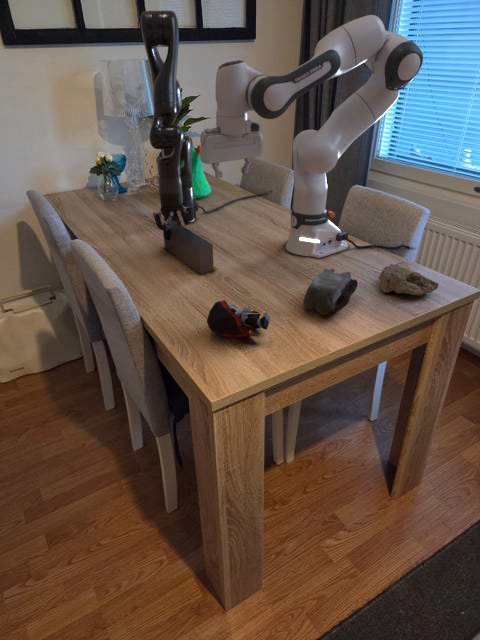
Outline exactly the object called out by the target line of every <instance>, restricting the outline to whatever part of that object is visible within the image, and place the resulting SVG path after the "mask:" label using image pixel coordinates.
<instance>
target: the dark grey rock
mask: <svg viewBox="0 0 480 640" xmlns="http://www.w3.org/2000/svg"><path fill="white" fill-rule="evenodd" d="M358 284H359V283H358V280H357V279H352V274H351V272H350V271H344V272H341V273H337V272H335V268H324V269H323V270H322V271H321V272H320V273H319V274H318V275H316V277H315V278H314V279H313V280H312V281H311V283H310V284H309V286H308V288H307V289H306V291H305V294H304V298H303V301H302V305H303V306H304V307H305V308H306V309H308V310H311V309H315V310H316V311H317V312H318V313H319V314H321V315H323V316H326V315H328V316H330V317H333V316H334V315H335V314H336V313H338V312H340V311H341V310H343V309H344V308H345V307H346V306H347V305H348V304H349V302H350V300H351V296H352V295H353V294H354V293H355V292H356V290H357V288H358V286H359V285H358Z"/></svg>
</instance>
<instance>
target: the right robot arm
mask: <svg viewBox="0 0 480 640" xmlns="http://www.w3.org/2000/svg"><path fill="white" fill-rule="evenodd" d="M422 51H423V50H422V49H421V48H420V46H419V45H418V44H417V43H415V42H413V41H411V40H410V39H409V38H407V37H406V36H404V35H402V34H400V33H396V32H393V31H390V30H389V29H387V28H386V27H385V25H384V22H383V20H382V19H381V18H380V17H379V16H377V15H374V14H368V15H365V16H361V17H359V18H355V19H353V20H351V21H348V22H346V23H343V24H342V25H340V26H338V27H337V28H335V29H333V30H332V31H330V32H328V33H327V34H326V35H324V37H322V38H321V39H320V40H319V41H318V42H317V43H316V45H315V49H314V55H313V56H312V57H311V59H309V60H308V61H306V62H304V63H302V64H301V65H299V66H298V67H296V68H294V69H293V70H291V71H289V72H288V73H286V74H283V75H267V74H264V73H263V72H260V71H258V70H257V69H254V68H253V67H251V66H250V65H248V64H247V63H246V61H243V60H241V59H240V60H231V61H228V62H227V61H226V62H225V63H222V64H220V66H219V67H217V70H216V74H215V100H216V111H215V123H216V124H215V127H212V128H205V129H204V130H203V131H201V133H200V135H199V139H200V160H201V161H202V162H203V164H204V165H211V168H212V169H213V171H214V177H215V179H221V178H223V171H222V170H220V169H219V167H220V163H225V162H233V161H234V162H235V161H240V160H243V161H244V164H243V166H241V168H240V170H241V171H240V172H241V174H243V175H246V174H249V168H250V167H251V164H252V161H253V159H254V158H260V157H261V155H262V154H263V147H264V146H263V135H262V127H263V126H262V124H261V123H259V122H255V121H253V120H251V119H248V112H251V111H254V112H255V113H256V114H257V115H258V116H259V117H260V118H262V119H264V120H265V119H266V120H275V119H278V118H279V117H281V116H282V115H284V113H285V112H286V111H287V110H288V109H289V107H290V106H291V105H292V104H293V103H294V101H296V100H297V99H298V98H299V97H301V96H303V95H305V94H306V93H308V92H310V91H311V90H313V89H314V88H316V87H318V86H319V85H321V84H323V83H324V82H326V81H329V80H331V79H334V78H336V77H339V76H341V75H343V74H345V73H348V72H350V71H352V70H353V69H355V68H357V67H358V66H360V65H362V64H363V65H364V66H365V68H367V69H369V71H371V75H370V76H369V78H368V80H367V81H366V82H365V83H364V84H363V85H362V86H361V87H359V88H358V89H357V90H356V91H354V92H353V93H352V94H351V95H350V96H348V98H347V99H345V100H344V101H343V102H342V103H341V104H339V105H338V106H337V107H336V108H335V109H334V110H333V111H332V113H331V114H330V116H329V117H328V119H327V120H326V122H324V124H323V125H322V126H321V127H320V128H319V129H318V130H316V129H305V130H302V131H300V132H299V133H298V134H297V135H296V136H295V137H294V140H293V143H292V164H293V166H292V167H293V168H292V169H293V200H292V201H293V203H292V208H291V214H290V231H289V235H288V239H287V242H286V245H285V249H286V251H288V252H289V253H292V254H294V255H298V256H303V257H304V256H305V257H311V258H316V259H322V258H325V257H327V256H330V255H333V254H336V253H339V252H343V251H345V250H348V247H349V246H348V243H350V244H351V245H352V246H353V247H354V248H356V249H369V248H378V249H385V250H398V249H401V248H407V249H411V247H410V246H409V245H408V246H405V245H404V244H405V243H403V244H400V245H397V246H387V245H380V244H369V245H358V244H356V243H355V242H354V241H353V240H351V239H349V232H347V231H342V230H341V229H340V228H339V227H338V226H337V225H335V224H334V223H333V222H332V221H331V220H330V219H329V218H331V219H334V217H335V215H336V214H335V212H334V211H332V210H327V209H326V206H327V205H326V204H327V196H328V183H327V174H328V173H329V172H331V171H332V170H333V169H334V168H335V167H336V165H337V163H338V161H339V159H340V158H341V157H342V155H343V154H344V153H345V152H346V151H347V149H348V148H349V147H350V146H351V144H352V143H354V141H356V140H357V139H358V138H359V137H360V136H361V135H363V134H364V133H365V132H366V131H367V130H368V129H369V128H370V127H372V126H373V125H374V124H375V123H377V122H378V121H379V120H380V119H381V118H382V117H383V116H384V115H385V114H386V113H387V112H388V111H389V110H390V109H391V107H393V105H394V104H395V103H396V101H397V100H398V99H399V96H400V90H403V89H404V88H406V87H407V86H408V84H410V83H411V82H412V81H413V80H414V79H415V78H416V76H417V75H418V74H419V72H420V69H421V68H422V67H423V66H422V65H423V63H424V62H423V61H424V54H423V52H422ZM345 241H347V242H348V243H347V242H345Z"/></svg>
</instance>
